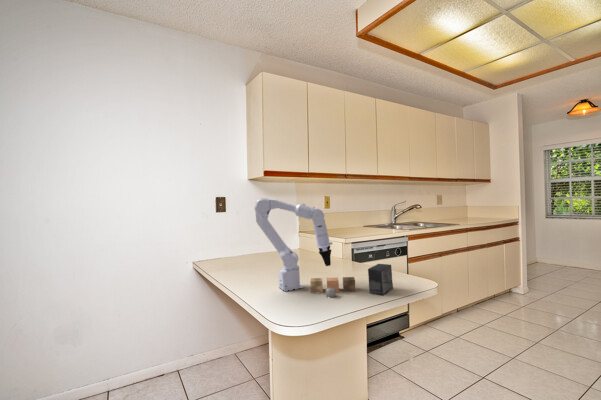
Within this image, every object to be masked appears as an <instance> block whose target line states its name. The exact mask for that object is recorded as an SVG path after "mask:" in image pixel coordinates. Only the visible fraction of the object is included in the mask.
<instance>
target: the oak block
mask: <svg viewBox="0 0 601 400" xmlns="http://www.w3.org/2000/svg"><path fill="white" fill-rule="evenodd" d="M311 292H324V289H323V277H315V278H314V277H313V278H312V277H311V278H310V293H311Z"/></svg>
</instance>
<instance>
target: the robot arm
mask: <svg viewBox="0 0 601 400" xmlns="http://www.w3.org/2000/svg"><path fill="white" fill-rule="evenodd" d="M276 209H280V210H284V211H288V212H291V213H294V214H295V215H296V217H298V218H302V219H306V220H312V223H313V230H314V235H315V241H316V243H317V245H316V247H317V248H318V250H319V251H318V253H319V254H320V256H321V259H322V260H323V262H324V265H325V266H326V267H330V266H331V264H332V263H331V255H332V254H331V253H332V249H331V245H333V242H332V241H331V242H330V237H329V233H328V228H327V223H326V220H325V214H324V212H323V210H321V209H320V208H316V207H314V206H313V207H312V206H309V205H308V206H307V205H306V203H302V204H301V203H299V204H298V205H294V204H291V203H288V202H284V201H282V200H278V199H273V198H271V199H270V198H263V197H262V198H259V199H257V201H256V202H255V206H254V212H255V221H256V222H255V223H257V225H258V227H259V228H260V229H261V231H262V232H263V233H264V235H265V236H266V237H267V239H268V241H270V243H271V244H272V245H273V247H274V249H275V250H276V252H278V254H279V257H280V259H281V260H282V263H283V268H282V269H280V270H279V271H278V288H279V287H280V288H279V289H280V290H282V291H283V290H284V291H283V292H288V290H289V291H294V290H293V289H295V290H299V288H300V289H304V287H305V286H303V285H301V277H300V276H301V275H300V273H301V272H300V266H299V265H298V262H299V255H298V254H297V252H294V251H292V249H291V248H290V247H289V246H288V245H287V244H286V243H285V242H284V240H283V238H282V237H281V236H280V235H279V234H278V232H277V230H276V229H275V227H274V226H273V225H272V223H270V221H269V215H270V213H271V211H272V210H276Z"/></svg>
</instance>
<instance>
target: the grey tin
mask: <svg viewBox="0 0 601 400" xmlns="http://www.w3.org/2000/svg"><path fill="white" fill-rule="evenodd" d="M336 296H337V292H336V290H335V288H327V287H326V288H325V297H326V298H328V297H330V298H331V299H332V298H336ZM330 298H329V299H330Z"/></svg>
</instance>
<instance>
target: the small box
mask: <svg viewBox="0 0 601 400" xmlns="http://www.w3.org/2000/svg"><path fill="white" fill-rule="evenodd" d="M367 273H368V276H367V277H368V288H369V294H370V295H371V294H372V295H379V296H384V295H386V294H388V293H389V292H391V291H392V290H393V289H394V285H393V283H394V282H393V272H392V264H385V263H377V264H375V265H373V266H371V267H370V268H368V269H367Z"/></svg>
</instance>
